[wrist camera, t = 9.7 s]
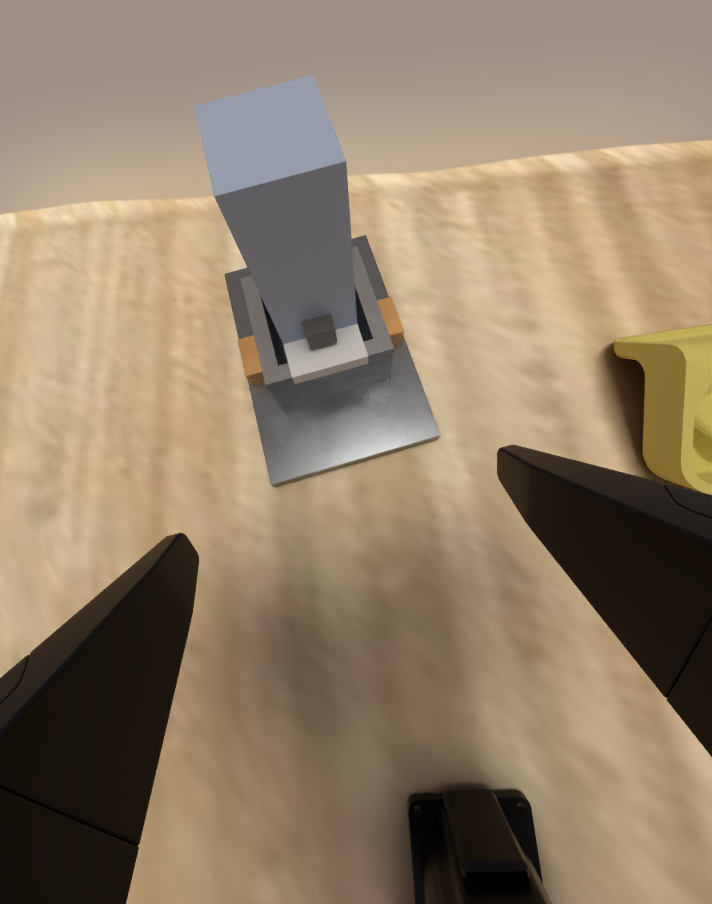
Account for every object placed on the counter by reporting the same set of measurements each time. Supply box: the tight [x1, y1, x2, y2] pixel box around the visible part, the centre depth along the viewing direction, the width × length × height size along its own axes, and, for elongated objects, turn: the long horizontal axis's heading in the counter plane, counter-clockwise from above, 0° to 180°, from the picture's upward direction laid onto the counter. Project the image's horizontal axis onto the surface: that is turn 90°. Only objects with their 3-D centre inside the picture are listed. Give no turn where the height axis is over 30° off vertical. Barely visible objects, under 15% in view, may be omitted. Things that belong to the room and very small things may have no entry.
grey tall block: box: [194, 75, 368, 384], centre depth 17 cm, size 9×4×13 cm, turn 16°
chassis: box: [225, 235, 440, 487], centre depth 23 cm, size 18×12×5 cm, turn 16°
